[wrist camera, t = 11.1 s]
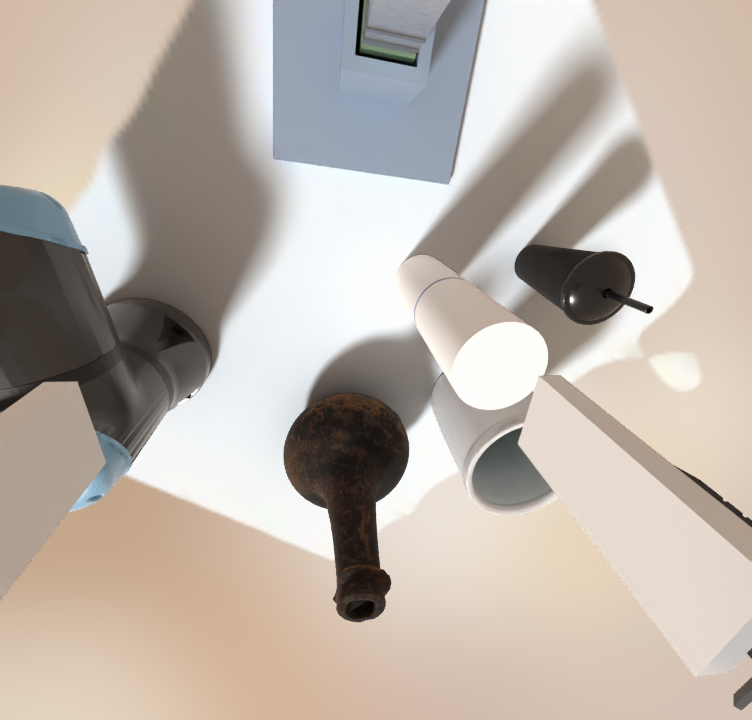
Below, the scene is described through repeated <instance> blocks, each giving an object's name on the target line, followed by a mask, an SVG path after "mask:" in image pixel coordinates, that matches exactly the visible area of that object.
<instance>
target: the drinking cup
mask: <svg viewBox="0 0 752 720" xmlns="http://www.w3.org/2000/svg"><path fill="white" fill-rule="evenodd" d="M515 272H516V274H517V276H518V277H519V278H520V279H522V280H523V281H524V282H526V283H527V284H528V285H530V286H531V287H532V288H534V289H535V290H536V291H538V292H539V293H540V294H542V295H543V296H544V297H546V298H547V299H548V300H550V301H551V302H552V303H554V304H555V305H556V306H558V307H559V308H560V309H562V310H563V311H564V313H565V314H566V316H567V317H568V318H569V319H571V320H572V321H574V322H576V323H578V324H583V325H592V324H597V323H600V322H603V321H605V320H607V319H609V318H610V317H612V316H613V315H615V314H616V313H617V312H618V311H619V310H620V309H621V308H622V307H623V306H624V305H627V306H630V307H632V308H635V309H637V310H640V311H642V312H644V313H647V314H649V313H651V312H652V311H653V307H652V306H650V305H647V304H644V303H642V302H639V301H636V300H634V299H631V298H629V297H630V295H631V293H632V290H633V287H634V283H635V271H634V267H633V265H632V263H631V261H630V260H629V259H628V258H627V257H626V256H625V255H623V254H621V253H618V252H614V251H602V252H592V251H583V250H575V249H567V248H558V247H550V246H542V245H531V246H528V247H526V248H525V249H523V250H522V251H521V252H520V254H519V255H518V257H517V258H516V261H515Z"/></svg>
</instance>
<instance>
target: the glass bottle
mask: <svg viewBox="0 0 752 720" xmlns="http://www.w3.org/2000/svg"><path fill="white" fill-rule="evenodd" d="M408 458H409V442H408V437H407V433H406V430H405V428H404V426H403V424H402V421H401V420H400V418H399V416H398V415H397V414H396V413H395V412H393V411H392V410H391V409H390V408H389V407H388V406H387V405H385V404H384V403H382V402H381V401H379V400H377V399H375V398H372V397H370V396H366V395H363V394H357V393H341V394H335V395H331V396H328V397H325V398H323V399H320V400H319V401H317V402H315V403H313V404H312V405H310V406H309V407H308V408H306V409H305V410H304V411H303V412H302V413H301V414H300V415H299V416H298V418H297V419H296V420H295V422H294V423H293V425H292V427H291V428H290V430H289V433H288V435H287V438H286V441H285V446H284V465H285V470H286V473H287V476H288V478H289V480H290V482H291V483H292V485H293V487H294V488H295V489H296V490H297V492H298V493H300V495H301V496H303V497H304V498H305V499H306V500H308V501H310V502H311V503H313V504H315V505H317V506H320V507H322V508H326V509H328V513H329V518H330V522H331V530H332V536H333V543H334V554H335V563H336V575H337V590H336V593H335V596H334V598H333V600H334V601H335V603H337V608H336V609H337V612H338V614H339V615H340V616H341V617H342V618H344V619H346V620H348V621H353V622H362V621H365V620H369V619H375V618H376V617H378V616H379V615H380V614H381V613H382V612H383V611H384V609H385V602H386V601H385V595H386V594H387V593H388V591H389V590H390V586H391V579H390V576H389V575H387V573H386V572H385V571H384V570H382V569H380V561H379V551H378V540H377V526H376V502H377V501H379V500H381V499H382V498H384V497H385V496H386V495H388V494H389V493H390V492H391V491H392V490H393V489H394V488H395V487H396V485H397V484H398V483H399V481H400V480H401V478H402V476H403V474H404V472H405V469H406V466H407V463H408Z"/></svg>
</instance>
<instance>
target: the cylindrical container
mask: <svg viewBox="0 0 752 720" xmlns="http://www.w3.org/2000/svg"><path fill="white" fill-rule="evenodd" d="M394 287H395V291H396V294H397V296H398V298H399V299H400V301H401V303H402V304H403V306H404V308H405V309H406V311H407V313H408V314H409V316H410V317H411V319H412V321H413V322H414V324H415V326H416V327H417V329H418V330H419V332H420V334H421V336H422V337H423V339H424V341H425V342H426V344H427V346H428V347H429V349H430V351H431V352H432V354H433V356H434V357H435V359H436V360H437V362H438V364H439V365H440V367H441V369H442V370H443V372H444V374H445V375H446V377H447V378H448V380H449V382H450V383H451V385H452V387H453V388H454V390H455V392H456V393H457V395H458V396H459V398H460V399H462V400H463V401H464V402H465V403H466V404H468V405H470V406H472V407H475V408H478V409H483V410H496V409H501V408H505V407H508V406H511V405H513V404H515V403H517V402H519V401H520V400H522V399H523V398H525V397H526V396H527V395H529V394H530V393H531V392H532V391H533V390H534V389H535V386H536V383H537V379H538V376H543V375H544V373H545V371H546V367H547V363H548V350H547V345H546V343H545V341H544V338H543V337H542V336H541V335H540V333H539V332H538V331H536V330H535V329H534V328H532V327H531V326H530V325H528V324H527V323H525V322H524V321H523V320H521V319H520V318H518V317H517V316H516V315H514V314H513V313H511V312H510V311H509V310H507V309H506V308H504V307H503V306H502V305H500V304H499V303H497V302H496V301H495V300H493V299H492V298H490V297H489V296H488V295H486V294H485V293H483V292H482V291H481V290H479V289H478V288H476V287H475V286H474V285H472V284H471V283H469V282H468V281H467V280H465V279H464V278H462V277H461V276H459V275H458V274H457V273H455V272H454V271H452V270H451V269H450V268H448V267H447V266H445V265H444V264H442V263H441V262H440V261H438V260H437V259H435V258H434V257H431V256H429V255H416V256H413V257H410V258H409V259H407V260H406V261H404V262H403V263H402V264H401V265H400V267H399V268H398V270H397V272H396V274H395V279H394Z"/></svg>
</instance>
